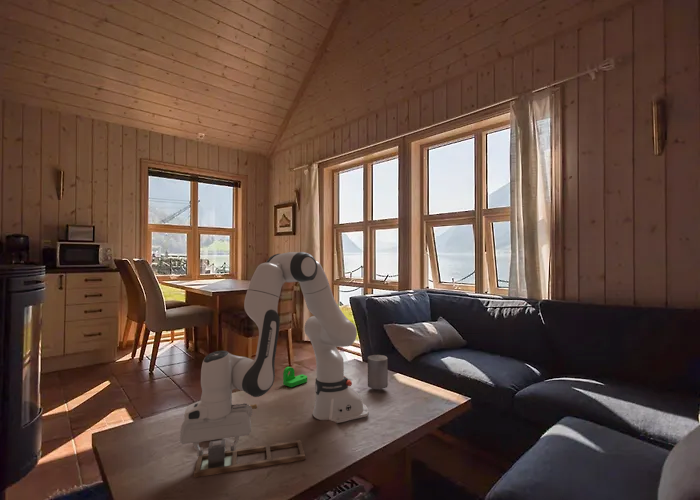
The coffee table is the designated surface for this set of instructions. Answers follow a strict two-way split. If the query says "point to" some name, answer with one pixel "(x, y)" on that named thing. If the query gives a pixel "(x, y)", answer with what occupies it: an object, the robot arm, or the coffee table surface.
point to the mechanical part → (292, 377)
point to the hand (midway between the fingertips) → (216, 452)
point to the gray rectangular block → (216, 454)
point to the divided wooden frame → (232, 466)
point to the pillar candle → (377, 372)
